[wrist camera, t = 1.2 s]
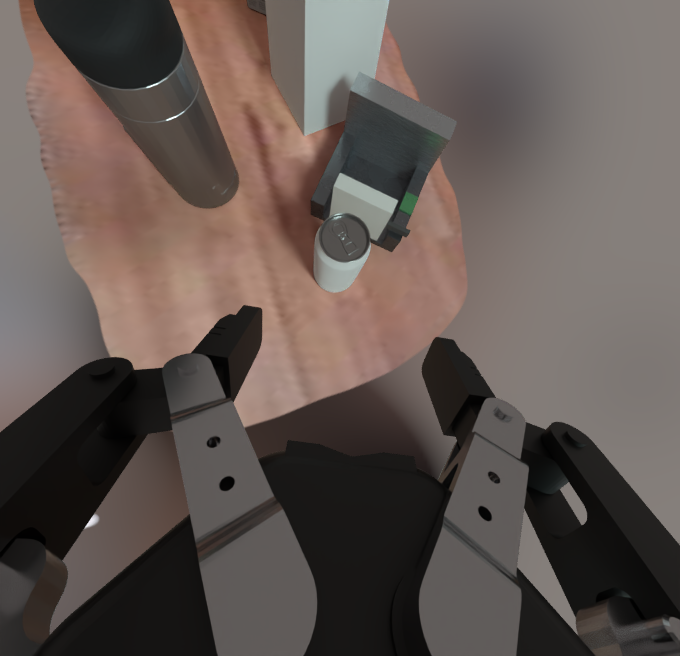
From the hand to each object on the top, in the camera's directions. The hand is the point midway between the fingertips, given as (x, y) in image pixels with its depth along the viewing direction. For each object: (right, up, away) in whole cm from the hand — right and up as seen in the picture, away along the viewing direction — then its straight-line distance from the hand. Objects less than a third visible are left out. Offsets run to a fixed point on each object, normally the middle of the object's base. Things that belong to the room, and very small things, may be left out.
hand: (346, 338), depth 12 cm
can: (-1, +9, +27) cm, 29 cm away
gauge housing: (+4, +22, +29) cm, 37 cm away
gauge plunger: (+4, +16, +27) cm, 32 cm away
